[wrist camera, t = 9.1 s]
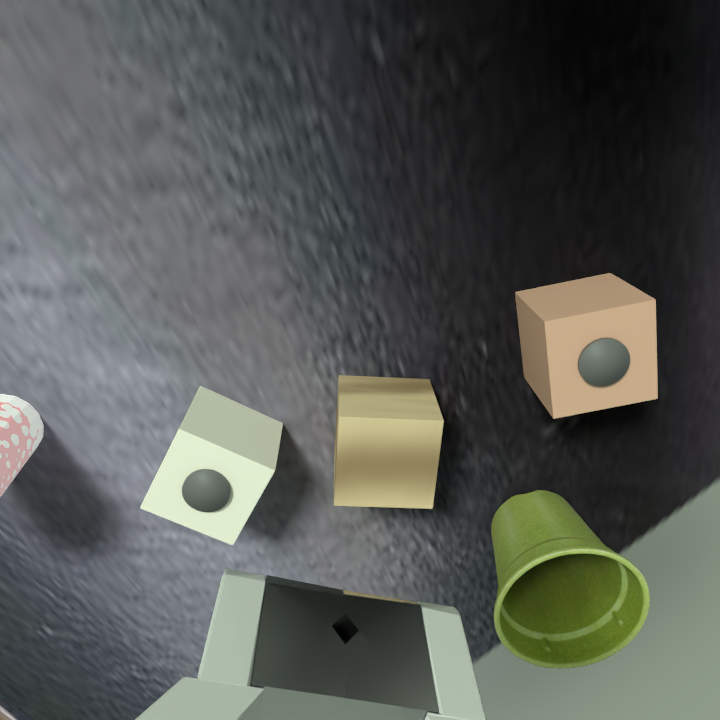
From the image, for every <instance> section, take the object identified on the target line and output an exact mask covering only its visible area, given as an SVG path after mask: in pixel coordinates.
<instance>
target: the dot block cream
mask: <svg viewBox="0 0 720 720" xmlns="http://www.w3.org/2000/svg"><path fill="white" fill-rule="evenodd" d="M282 427H283V423H281V422H279V421H277V420H274V419H272V418H270V417H268V416H266V415H263V414H261V413H259V412H257V411H255V410H252V409H250V408H248V407H246V406H244V405H241V404H239V403H237V402H235V401H233V400H230V399H228V398H226V397H224V396H222V395H219V394H217V393H215V392H213V391H211V390H208V389H206V388H204V387H202V386H200V387H199V389H198V391H197V393H196V395H195V397H194V399H193V401H192V403H191V405H190V407H189V409H188V411H187V413H186V416H185V418H184V420H183V422H182V424H181V426H180V428H179V430H178V432H177V434H176V436H175V438H174V440H173V442H172V444H171V446H170V448H169V450H168V452H167V454H166V456H165V458H164V460H163V462H162V464H161V466H160V468H159V470H158V472H157V474H156V476H155V478H154V481H153V483H152V485H151V487H150V489H149V491H148V493H147V495H146V497H145V499H144V501H143V503H142V505H141V507H140V508H141V509H143V510H146V511H148V512H151V513H153V514H156V515H158V516H161V517H163V518H166V519H168V520H171V521H173V522H176V523H178V524H181V525H183V526H186V527H188V528H191V529H193V530H196V531H198V532H201V533H203V534H206V535H208V536H211V537H213V538H216V539H218V540H221V541H223V542H226V543H228V544H231V545H233V544H234V542H235V540H236V539H237V537H238V535H239V533H240V532H241V530H242V528H243V526H244V525H245V523H246V521H247V519H248V518H249V516H250V514H251V512H252V511H253V509H254V507H255V505H256V504H257V502H258V500H259V498H260V496H261V495H262V493H263V491H264V489H265V488H266V486H267V484H268V482H269V481H270V479H271V477H272V475H273V474H274V472H275V469H276V463H277V457H278V451H279V445H280V439H281V433H282Z"/></svg>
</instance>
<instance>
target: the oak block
mask: <svg viewBox="0 0 720 720" xmlns="http://www.w3.org/2000/svg"><path fill="white" fill-rule="evenodd" d="M443 423H444V420H443V417H442V414H441V411H440V408H439V405H438V402H437V400H436V397H435V394H434V391H433V388H432V385H431V382H430V379H411V378H388V377H365V376H343V375H339V380H338V398H337V416H336V434H335V453H334V506H363V507H393V508H424V509H433V502H434V494H435V487H436V479H437V471H438V463H439V455H440V447H441V439H442V431H443Z"/></svg>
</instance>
